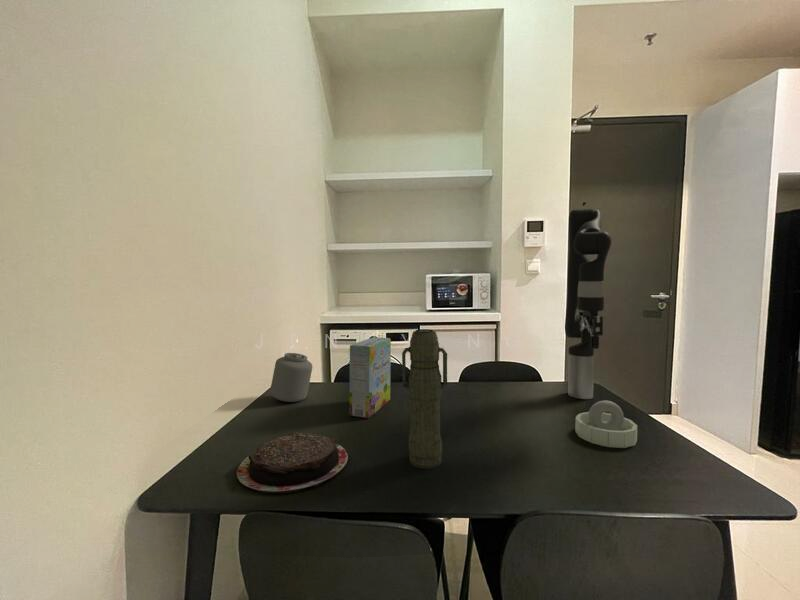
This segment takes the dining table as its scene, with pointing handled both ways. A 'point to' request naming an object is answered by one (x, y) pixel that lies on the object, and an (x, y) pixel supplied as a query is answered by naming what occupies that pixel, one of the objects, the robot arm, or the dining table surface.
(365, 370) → the snack box
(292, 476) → the chocolate cake
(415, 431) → the thermos
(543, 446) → the dining table surface
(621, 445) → the bowl
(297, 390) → the jar
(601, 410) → the donut
